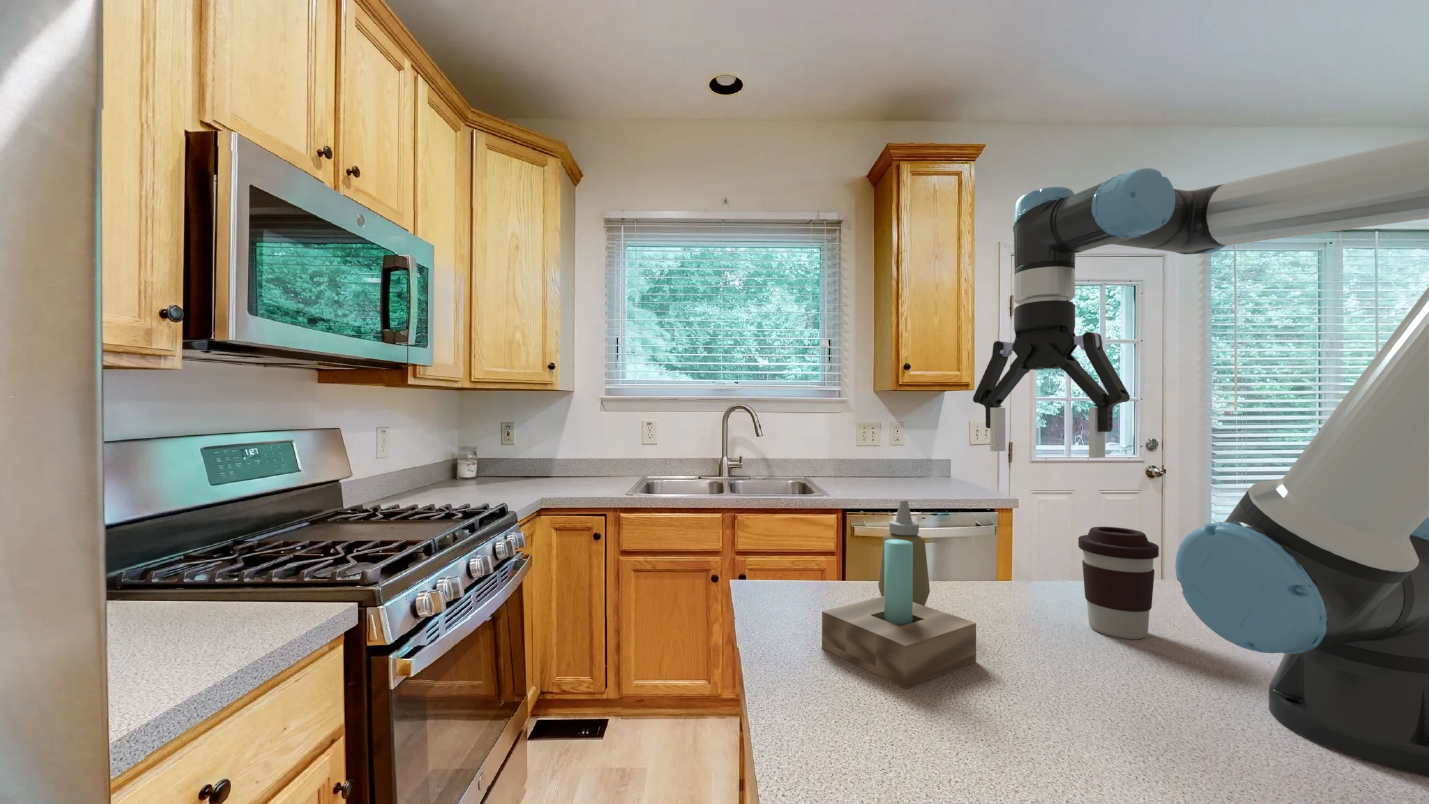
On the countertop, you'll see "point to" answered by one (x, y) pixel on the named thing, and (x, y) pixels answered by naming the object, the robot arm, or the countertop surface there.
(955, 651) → the bore block
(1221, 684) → the countertop surface
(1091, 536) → the coffee cup
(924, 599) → the squeeze bottle
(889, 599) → the pin
